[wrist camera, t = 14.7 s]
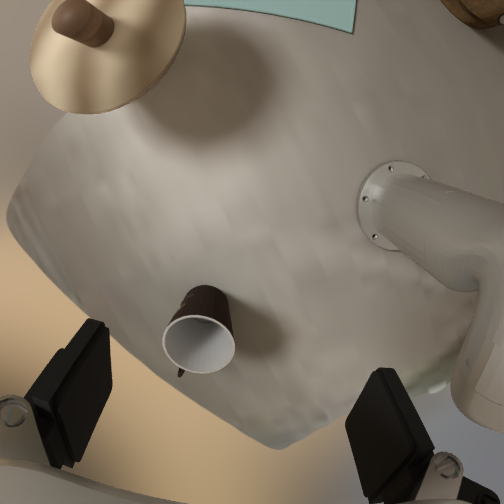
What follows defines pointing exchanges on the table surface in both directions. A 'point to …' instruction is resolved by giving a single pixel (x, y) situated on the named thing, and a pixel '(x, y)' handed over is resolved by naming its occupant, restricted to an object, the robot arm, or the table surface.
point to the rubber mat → (294, 10)
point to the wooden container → (477, 12)
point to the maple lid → (104, 51)
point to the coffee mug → (200, 332)
